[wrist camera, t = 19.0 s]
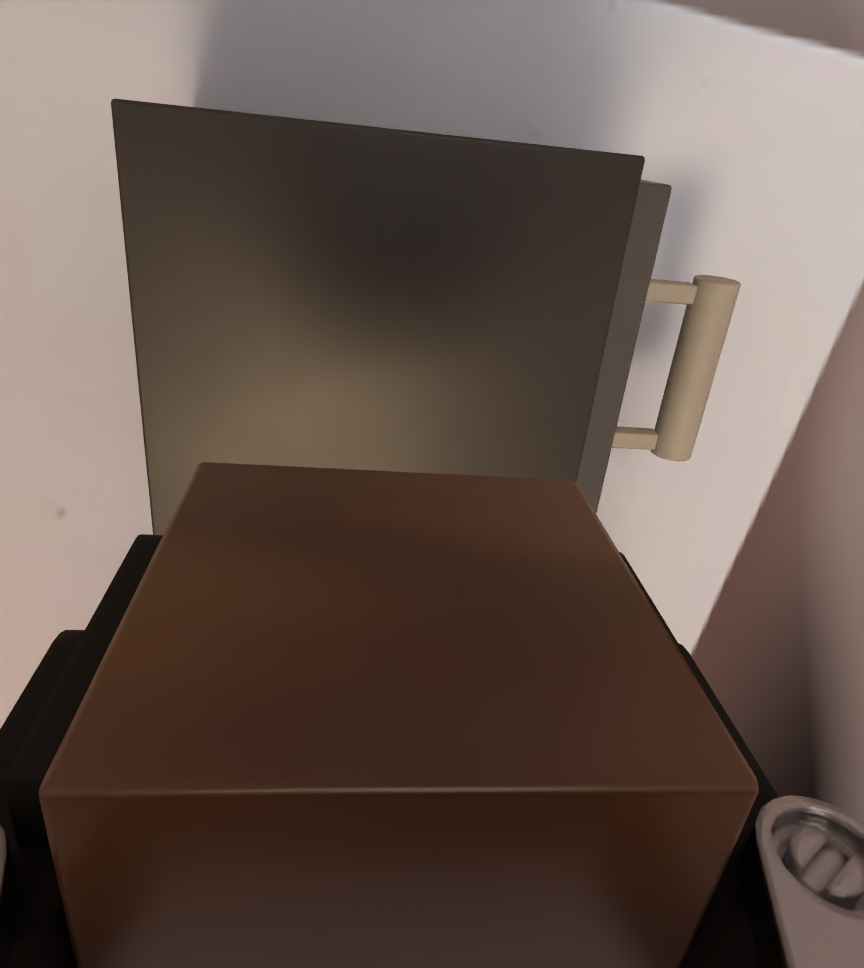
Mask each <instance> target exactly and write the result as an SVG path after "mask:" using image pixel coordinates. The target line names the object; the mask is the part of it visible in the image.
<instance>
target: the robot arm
mask: <svg viewBox="0 0 864 968" xmlns="http://www.w3.org/2000/svg"><path fill="white" fill-rule="evenodd" d="M162 537H163V535H143V534H141V535H138V536H137V538H136V539H135V541H134V542H133V544H132V546H131V548H130V550H129V552H128V553H127V555H126V557H125V559H124V561H123V562H122V564H121V566H120V568H119V570H118V571H117V573H116V575H115V577H114V579H113V580H112V582H111V584H110V586H109V588H108V589H107V591H106V593H105V595H104V597H103V599H102V600H101V602H100V604H99V606H98V608H97V609H96V611H95V613H94V615H93V617H92V618H91V620H90V622H89V624H88V626H87V627H86V629H85V630H65V631H63V632H61V633H60V634H59V635H58V636H57V637H56V639H55V640H54V641H53V643H52V644H51V646H50V648H49V649H48V651H47V653H46V654H45V656H44V658H43V659H42V661H41V663H40V664H39V666H38V668H37V669H36V671H35V673H34V674H33V676H32V678H31V679H30V681H29V683H28V684H27V686H26V688H25V689H24V691H23V693H22V694H21V696H20V697H19V699H18V701H17V702H16V704H15V706H14V707H13V709H12V711H11V712H10V714H9V716H8V717H7V719H6V721H5V722H4V724H3V726H2V727H1V729H0V968H77V965H76V961H75V956H74V952H73V947H72V943H71V938H70V934H69V929H68V925H67V921H66V916H65V912H64V907H63V903H62V898H61V894H60V889H59V885H58V880H57V876H56V871H55V867H54V863H53V858H52V854H51V849H50V845H49V840H48V836H47V831H46V827H45V822H44V818H43V813H42V809H41V805H40V800H39V789H40V786H41V784H42V781H43V779H44V777H45V775H46V773H47V771H48V769H49V767H50V765H51V763H52V761H53V759H54V757H55V755H56V753H57V751H58V749H59V747H60V745H61V743H62V741H63V739H64V737H65V735H66V733H67V730H68V728H69V726H70V724H71V722H72V720H73V718H74V716H75V714H76V712H77V710H78V708H79V706H80V704H81V702H82V700H83V698H84V696H85V694H86V692H87V690H88V688H89V686H90V684H91V682H92V679H93V677H94V675H95V673H96V671H97V669H98V667H99V665H100V663H101V661H102V659H103V657H104V655H105V653H106V651H107V649H108V647H109V645H110V643H111V641H112V639H113V637H114V635H115V633H116V631H117V629H118V626H119V624H120V622H121V620H122V618H123V616H124V614H125V612H126V610H127V608H128V606H129V604H130V602H131V600H132V598H133V596H134V594H135V592H136V590H137V588H138V586H139V584H140V582H141V580H142V578H143V575H144V573H145V571H146V569H147V567H148V565H149V563H150V561H151V559H152V557H153V555H154V553H155V551H156V549H157V547H158V545H159V543H160V541H161V539H162ZM619 553H620V555H621V556H622V558H623V560H624V561H625V563H626V564H627V566H628V568H629V569H630V571H631V573H632V574H633V576H634V578H635V579H636V581H637V583H638V584H639V586H640V587H641V589H642V591H643V592H644V594H645V596H646V597H647V599H648V601H649V602H650V604H651V606H652V607H653V609H654V610H655V612H656V614H657V615H658V617H659V619H660V620H661V622H662V624H663V625H664V627H665V629H666V630H667V632H668V633H669V635H670V637H671V638H672V640H673V642H674V643H675V645H676V647H677V648H678V650H679V652H680V653H681V655H682V656H683V658H684V660H685V661H686V663H687V665H688V666H689V668H690V670H691V671H692V673H693V675H694V676H695V678H696V679H697V681H698V683H699V684H700V686H701V688H702V689H703V691H704V693H705V694H706V696H707V698H708V699H709V701H710V702H711V704H712V706H713V707H714V709H715V711H716V712H717V714H718V716H719V717H720V719H721V721H722V722H723V724H724V725H725V727H726V729H727V730H728V732H729V734H730V735H731V737H732V739H733V740H734V742H735V744H736V745H737V747H738V749H739V750H740V752H741V753H742V755H743V757H744V758H745V760H746V762H747V763H748V765H749V767H750V768H751V770H752V772H753V773H754V775H755V776H756V778H757V782H758V795H757V797H756V799H755V801H754V804H753V806H752V808H751V810H750V813H749V815H748V817H747V819H746V822H745V824H744V826H743V828H742V831H741V833H740V835H739V837H738V840H737V842H736V844H735V846H734V849H733V851H732V853H731V855H730V858H729V860H728V862H727V864H726V867H725V869H724V871H723V873H722V876H721V878H720V880H719V882H718V885H717V887H716V889H715V891H714V894H713V896H712V898H711V900H710V903H709V905H708V907H707V909H706V912H705V914H704V916H703V918H702V921H701V923H700V925H699V927H698V930H697V932H696V934H695V936H694V939H693V941H692V943H691V945H690V948H689V950H688V952H687V955H686V957H685V959H684V961H683V964H682V966H681V968H864V824H863V823H862V822H861V821H859V820H858V819H857V818H856V817H854V816H852V815H850V814H848V813H846V812H845V811H843V810H841V809H839V808H837V807H835V806H834V805H831V804H828V803H825V802H822V801H819V800H816V799H813V798H809V797H799V796H785V797H781V798H779V797H778V795H777V793H776V792H775V790H774V789H773V787H772V785H771V784H770V782H769V781H768V779H767V777H766V776H765V774H764V773H763V771H762V769H761V768H760V766H759V765H758V763H757V761H756V760H755V758H754V756H753V755H752V753H751V752H750V750H749V749H748V747H747V746H746V744H745V742H744V740H743V739H742V737H741V736H740V734H739V733H738V731H737V729H736V728H735V726H734V724H733V723H732V721H731V720H730V718H729V716H728V715H727V713H726V712H725V710H724V708H723V707H722V705H721V704H720V702H719V700H718V699H717V697H716V696H715V694H714V692H713V691H712V689H711V688H710V686H709V684H708V683H707V681H706V679H705V678H704V676H703V675H702V673H701V671H700V670H699V668H698V667H697V665H696V663H695V662H694V660H693V659H692V657H691V655H690V654H689V652H688V651H687V650H686V649H685V648H684V646H683V645H681V644H679V643H678V642H677V641H676V639H675V637H674V636H673V634H672V633H671V631H670V629H669V628H668V626H667V624H666V623H665V621H664V619H663V618H662V616H661V615H660V613H659V611H658V610H657V608H656V606H655V605H654V603H653V602H652V600H651V598H650V597H649V595H648V593H647V592H646V590H645V589H644V587H643V585H642V584H641V582H640V580H639V579H638V577H637V576H636V574H635V572H634V571H633V569H632V567H631V566H630V564H629V563H628V561H627V559H626V558H625V556H624V555H623V554H622V553H621V552H619Z"/></svg>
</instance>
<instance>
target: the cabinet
mask: <svg viewBox="0 0 864 968" xmlns="http://www.w3.org/2000/svg"><path fill="white" fill-rule="evenodd" d="M111 108H112V118H113V128H114V139H115V149H116V159H117V169H118V179H119V190H120V200H121V210H122V220H123V231H124V241H125V251H126V261H127V272H128V282H129V292H130V302H131V312H132V323H133V333H134V343H135V353H136V364H137V374H138V384H139V394H140V404H141V415H142V425H143V435H144V445H145V456H146V466H147V476H148V486H149V497H150V507H151V517H152V527H153V535H164V533H165V531H166V529H167V527H168V525H169V522H170V520H171V518H172V516H173V514H174V512H175V510H176V508H177V506H178V504H179V502H180V500H181V498H182V496H183V494H184V492H185V490H186V488H187V486H188V484H189V482H190V480H191V478H192V476H193V474H194V471H195V469H196V467H197V465H198V464H199V463H203V462H213V463H234V464H254V465H274V466H295V467H315V468H335V469H355V470H376V471H396V472H416V473H437V474H457V475H477V476H497V477H518V478H538V479H558V480H572V481H575V482H576V481H577V476H578V472H579V467H580V462H581V457H582V453H583V448H584V443H585V439H586V434H587V429H588V425H589V420H590V415H591V410H592V406H593V401H594V396H595V392H596V387H597V382H598V377H599V373H600V368H601V363H602V359H603V354H604V349H605V345H606V340H607V335H608V330H609V326H610V321H611V316H612V312H613V307H614V302H615V297H616V293H617V288H618V283H619V279H620V274H621V269H622V265H623V260H624V255H625V250H626V246H627V241H628V236H629V232H630V227H631V222H632V217H633V213H634V208H635V203H636V199H637V194H638V189H639V185H640V180H641V175H642V170H643V166H644V161H645V159H644V157H643V156H638V155H629V154H620V153H610V152H601V151H592V150H583V149H574V148H564V147H555V146H546V145H537V144H527V143H518V142H509V141H500V140H491V139H481V138H472V137H463V136H454V135H444V134H435V133H426V132H417V131H408V130H398V129H389V128H380V127H371V126H362V125H352V124H343V123H334V122H325V121H315V120H306V119H297V118H288V117H279V116H269V115H260V114H251V113H242V112H232V111H223V110H214V109H205V108H196V107H186V106H177V105H168V104H159V103H150V102H140V101H131V100H122V99H113V100H112V101H111Z"/></svg>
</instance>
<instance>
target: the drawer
mask: <svg viewBox="0 0 864 968" xmlns="http://www.w3.org/2000/svg"><path fill="white" fill-rule="evenodd" d="M670 193H671V186H670V185H667V184H661V183H656V182H651V181H645V180H640V185H639V189H638V194H637V199H636V203H635V208H634V213H633V217H632V222H631V227H630V232H629V236H628V241H627V246H626V250H625V255H624V260H623V265H622V269H621V274H620V279H619V283H618V288H617V293H616V297H615V302H614V307H613V312H612V316H611V321H610V326H609V330H608V335H607V340H606V345H605V349H604V354H603V359H602V363H601V368H600V373H599V377H598V382H597V387H596V392H595V396H594V401H593V406H592V410H591V415H590V420H589V425H588V429H587V434H586V439H585V443H584V448H583V453H582V457H581V462H580V467H579V472H578V476H577V481H576V482H577V484H578V486H579V487H580V489H581V491H582V492H583V494H584V495H585V497H586V499H587V500H588V502H589V504H590V505H591V507H592V509H593V510H594V512H595V514H596V512H597V508H598V503H599V499H600V495H601V490H602V486H603V482H604V477H605V473H606V469H607V465H608V460H609V456H610V452H611V448H628V449H646V450H650V451H651V452H652V453H653V454H655V455H656V456H658V457H661V458H663V459H667V460H672V461H686V460H688V459H689V458H690V457H691V454H692V450H693V447H694V444H695V440H696V437H697V433H698V430H699V426H700V423H701V419H702V416H703V412H704V409H705V406H706V402H707V399H708V395H709V392H710V388H711V385H712V381H713V378H714V375H715V371H716V368H717V364H718V361H719V357H720V354H721V350H722V347H723V344H724V340H725V337H726V333H727V330H728V326H729V323H730V319H731V316H732V312H733V309H734V306H735V302H736V299H737V295H738V292H739V288H740V283H739V282H738V281H735V280H732V279H728V278H723V277H717V276H708V275H697V276H695V277H694V279H693V283H690V282H678V281H667V280H655V279H651V275H652V271H653V266H654V262H655V258H656V253H657V249H658V245H659V241H660V236H661V232H662V228H663V223H664V219H665V215H666V210H667V206H668V202H669V197H670ZM645 301H651V302H663V303H675V304H687V306H686V310H685V314H684V318H683V322H682V326H681V330H680V333H679V337H678V341H677V345H676V349H675V353H674V357H673V360H672V364H671V368H670V372H669V376H668V380H667V384H666V387H665V391H664V395H663V399H662V403H661V407H660V411H659V414H658V418H657V422H656V426H655V430H653V429H650V428H633V427H616V426H617V421H618V417H619V413H620V409H621V404H622V400H623V396H624V391H625V387H626V383H627V378H628V374H629V370H630V365H631V361H632V357H633V353H634V348H635V344H636V340H637V335H638V331H639V327H640V322H641V318H642V314H643V309H644V305H645Z"/></svg>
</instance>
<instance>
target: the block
mask: <svg viewBox="0 0 864 968" xmlns="http://www.w3.org/2000/svg"><path fill="white" fill-rule="evenodd" d="M757 795H758V782H757V778H756V776H755V775H754V773H753V772H752V770H751V768H750V767H749V765H748V763H747V762H746V760H745V758H744V757H743V755H742V753H741V752H740V750H739V749H738V747H737V745H736V744H735V742H734V740H733V739H732V737H731V735H730V734H729V732H728V730H727V729H726V727H725V725H724V724H723V722H722V721H721V719H720V717H719V716H718V714H717V712H716V711H715V709H714V707H713V706H712V704H711V702H710V701H709V699H708V698H707V696H706V694H705V693H704V691H703V689H702V688H701V686H700V684H699V683H698V681H697V679H696V678H695V676H694V675H693V673H692V671H691V670H690V668H689V666H688V665H687V663H686V661H685V660H684V658H683V656H682V655H681V653H680V652H679V650H678V648H677V647H676V645H675V643H674V642H673V640H672V638H671V637H670V635H669V633H668V632H667V630H666V629H665V627H664V625H663V624H662V622H661V620H660V619H659V617H658V615H657V614H656V612H655V610H654V609H653V607H652V606H651V604H650V602H649V601H648V599H647V597H646V596H645V594H644V592H643V591H642V589H641V587H640V586H639V584H638V583H637V581H636V579H635V578H634V576H633V574H632V573H631V571H630V569H629V568H628V566H627V564H626V563H625V561H624V560H623V558H622V556H621V555H620V553H619V551H618V550H617V548H616V546H615V545H614V543H613V541H612V540H611V538H610V537H609V535H608V533H607V532H606V530H605V528H604V527H603V525H602V523H601V522H600V520H599V518H598V517H597V515H596V514H595V512H594V510H593V509H592V507H591V505H590V504H589V502H588V500H587V499H586V497H585V495H584V494H583V492H582V491H581V489H580V487H579V486H578V484H577V482H575V481H572V480H558V479H538V478H518V477H497V476H477V475H457V474H437V473H416V472H396V471H376V470H355V469H335V468H315V467H295V466H274V465H254V464H234V463H213V462H203V463H199V464H198V465H197V467H196V469H195V471H194V474H193V476H192V478H191V480H190V482H189V484H188V486H187V488H186V490H185V492H184V494H183V496H182V498H181V500H180V502H179V504H178V506H177V508H176V510H175V512H174V514H173V516H172V518H171V520H170V522H169V525H168V527H167V529H166V531H165V533H164V535H163V537H162V539H161V541H160V543H159V545H158V547H157V549H156V551H155V553H154V555H153V557H152V559H151V561H150V563H149V565H148V567H147V569H146V571H145V573H144V575H143V578H142V580H141V582H140V584H139V586H138V588H137V590H136V592H135V594H134V596H133V598H132V600H131V602H130V604H129V606H128V608H127V610H126V612H125V614H124V616H123V618H122V620H121V622H120V624H119V626H118V629H117V631H116V633H115V635H114V637H113V639H112V641H111V643H110V645H109V647H108V649H107V651H106V653H105V655H104V657H103V659H102V661H101V663H100V665H99V667H98V669H97V671H96V673H95V675H94V677H93V679H92V682H91V684H90V686H89V688H88V690H87V692H86V694H85V696H84V698H83V700H82V702H81V704H80V706H79V708H78V710H77V712H76V714H75V716H74V718H73V720H72V722H71V724H70V726H69V728H68V730H67V733H66V735H65V737H64V739H63V741H62V743H61V745H60V747H59V749H58V751H57V753H56V755H55V757H54V759H53V761H52V763H51V765H50V767H49V769H48V771H47V773H46V775H45V777H44V779H43V781H42V784H41V786H40V789H39V800H40V805H41V809H42V813H43V818H44V822H45V827H46V831H47V836H48V840H49V845H50V849H51V854H52V858H53V863H54V867H55V871H56V876H57V880H58V885H59V889H60V894H61V898H62V903H63V907H64V912H65V916H66V921H67V925H68V929H69V934H70V938H71V943H72V947H73V952H74V956H75V961H76V965H77V968H681V966H682V964H683V961H684V959H685V957H686V955H687V952H688V950H689V948H690V945H691V943H692V941H693V939H694V936H695V934H696V932H697V930H698V927H699V925H700V923H701V921H702V918H703V916H704V914H705V912H706V909H707V907H708V905H709V903H710V900H711V898H712V896H713V894H714V891H715V889H716V887H717V885H718V882H719V880H720V878H721V876H722V873H723V871H724V869H725V867H726V864H727V862H728V860H729V858H730V855H731V853H732V851H733V849H734V846H735V844H736V842H737V840H738V837H739V835H740V833H741V831H742V828H743V826H744V824H745V822H746V819H747V817H748V815H749V813H750V810H751V808H752V806H753V804H754V801H755V799H756V797H757Z"/></svg>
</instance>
